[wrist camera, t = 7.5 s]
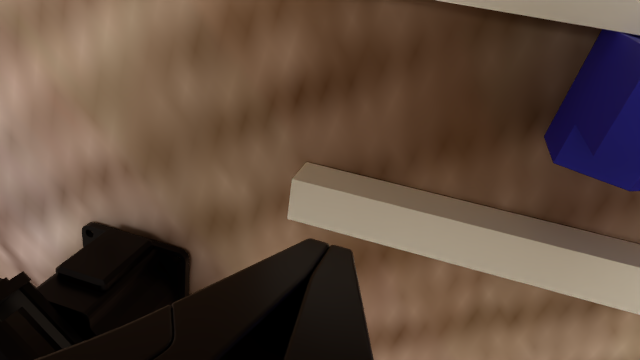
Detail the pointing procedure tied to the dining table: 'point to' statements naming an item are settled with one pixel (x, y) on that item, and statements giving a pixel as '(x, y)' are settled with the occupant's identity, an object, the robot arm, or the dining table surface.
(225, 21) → the dining table surface
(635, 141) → the cable clip
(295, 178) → the guide channel
